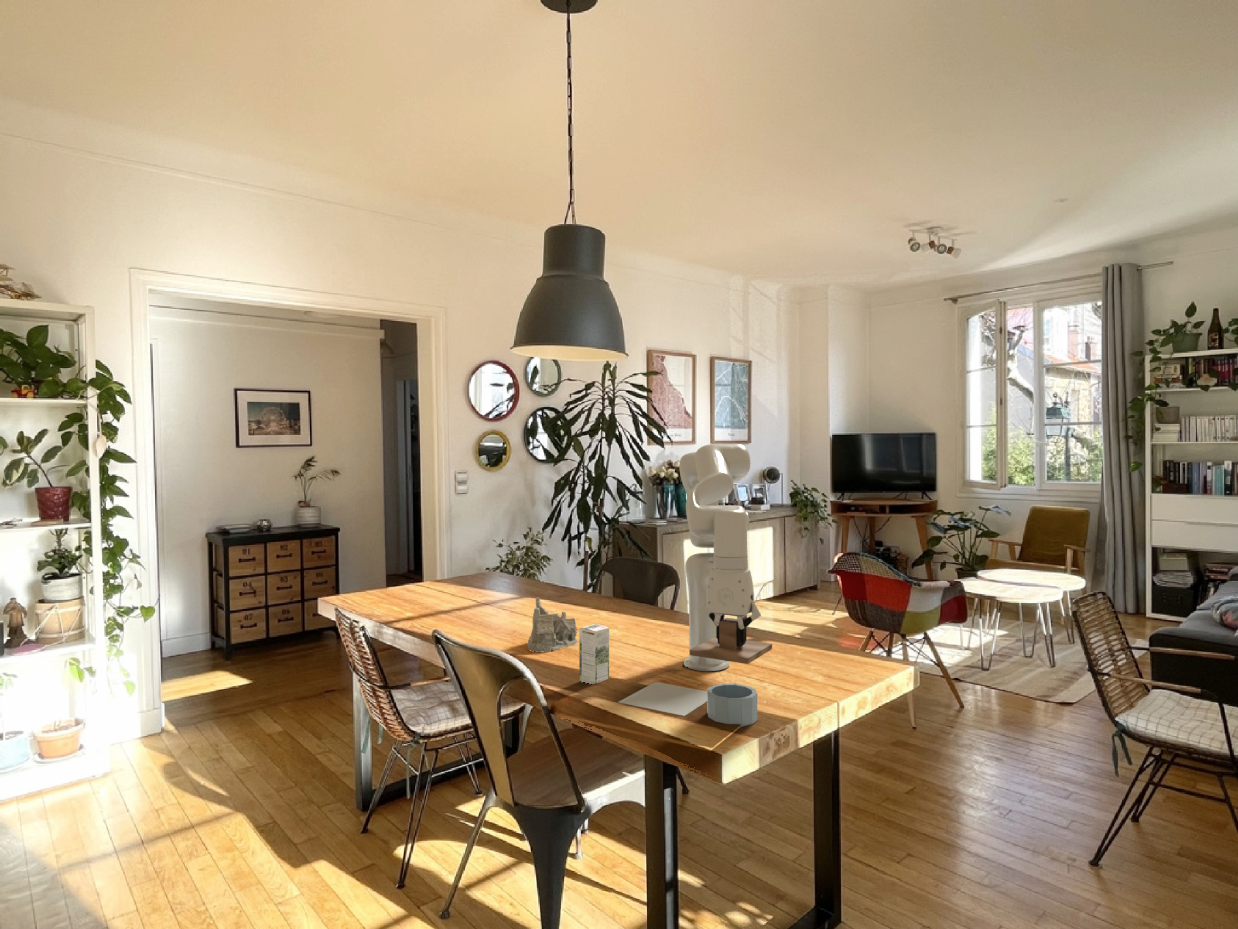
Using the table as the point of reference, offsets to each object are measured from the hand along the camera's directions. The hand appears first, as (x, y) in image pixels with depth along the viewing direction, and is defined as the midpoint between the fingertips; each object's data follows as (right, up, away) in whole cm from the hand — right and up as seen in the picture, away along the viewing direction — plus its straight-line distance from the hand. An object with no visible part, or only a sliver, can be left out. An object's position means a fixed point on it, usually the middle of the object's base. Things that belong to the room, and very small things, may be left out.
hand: (731, 643), depth 170 cm
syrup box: (-32, -17, +28) cm, 46 cm away
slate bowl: (0, -17, 0) cm, 17 cm away
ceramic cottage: (-46, -16, +65) cm, 82 cm away
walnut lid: (0, -2, 0) cm, 2 cm away
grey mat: (-13, -17, +13) cm, 25 cm away
